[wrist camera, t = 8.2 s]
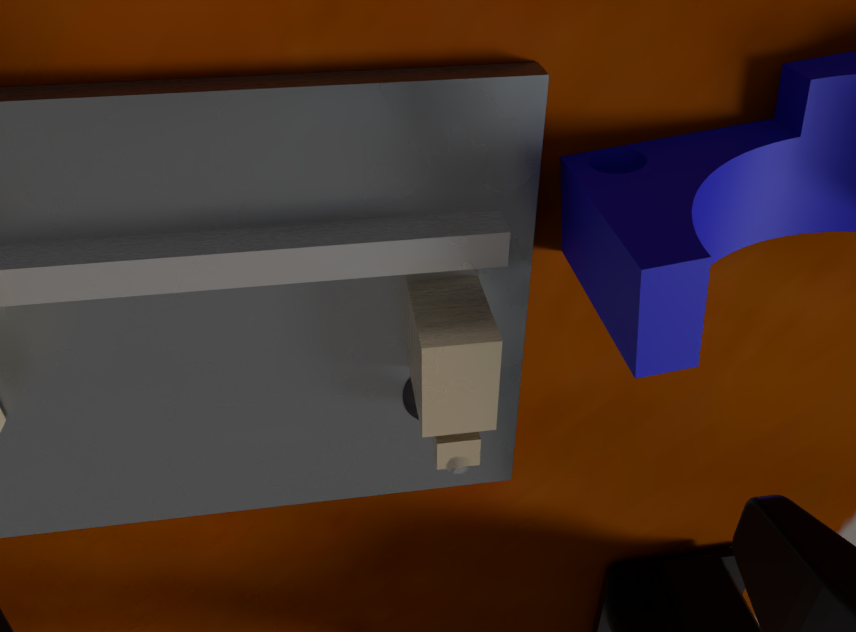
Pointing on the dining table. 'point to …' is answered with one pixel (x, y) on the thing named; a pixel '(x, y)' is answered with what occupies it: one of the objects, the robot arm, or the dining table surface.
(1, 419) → the block
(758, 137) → the cable clip
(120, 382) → the drilled plate
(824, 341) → the dining table surface
